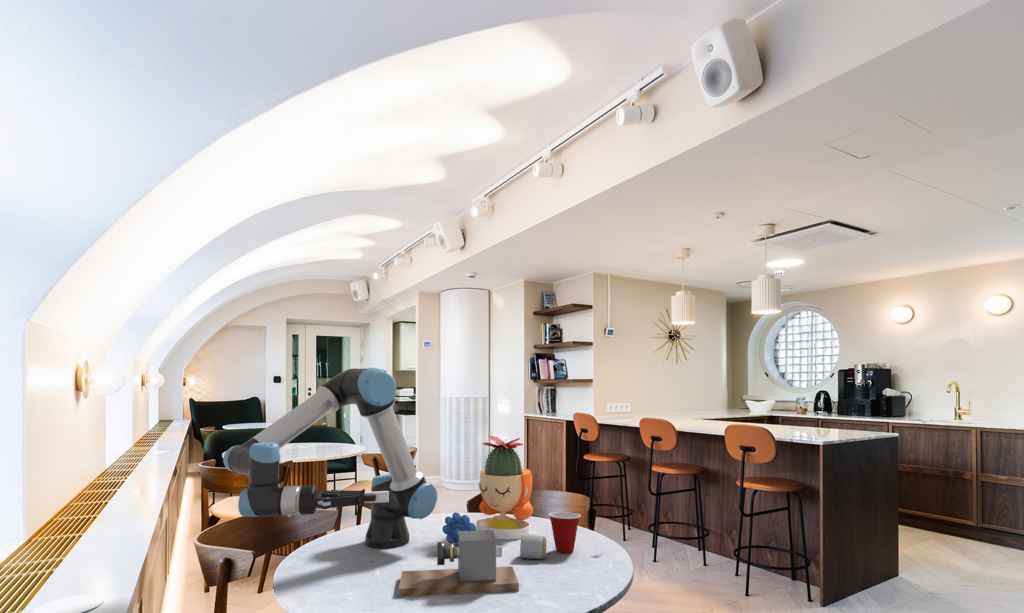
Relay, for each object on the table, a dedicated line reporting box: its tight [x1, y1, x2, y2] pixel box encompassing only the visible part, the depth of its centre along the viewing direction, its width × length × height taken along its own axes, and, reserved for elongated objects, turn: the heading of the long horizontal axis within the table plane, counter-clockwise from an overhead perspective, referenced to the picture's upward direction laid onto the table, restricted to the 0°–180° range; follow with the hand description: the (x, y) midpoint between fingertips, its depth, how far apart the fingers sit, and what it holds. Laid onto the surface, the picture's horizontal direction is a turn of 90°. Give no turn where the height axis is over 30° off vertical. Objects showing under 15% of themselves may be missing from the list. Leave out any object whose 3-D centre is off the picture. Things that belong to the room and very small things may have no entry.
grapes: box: [442, 511, 476, 547], centre depth 195 cm, size 12×7×12 cm, turn 88°
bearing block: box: [457, 530, 497, 583], centre depth 164 cm, size 10×10×11 cm
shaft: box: [436, 541, 503, 566], centre depth 164 cm, size 18×6×6 cm, turn 97°
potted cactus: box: [475, 435, 534, 540], centre depth 220 cm, size 22×22×35 cm
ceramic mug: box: [519, 533, 547, 560], centre depth 188 cm, size 10×8×7 cm
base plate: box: [398, 566, 520, 598], centre depth 163 cm, size 32×14×2 cm, turn 97°
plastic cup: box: [548, 511, 582, 554], centre depth 194 cm, size 11×11×12 cm
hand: (388, 496), depth 162 cm, fingers closed
